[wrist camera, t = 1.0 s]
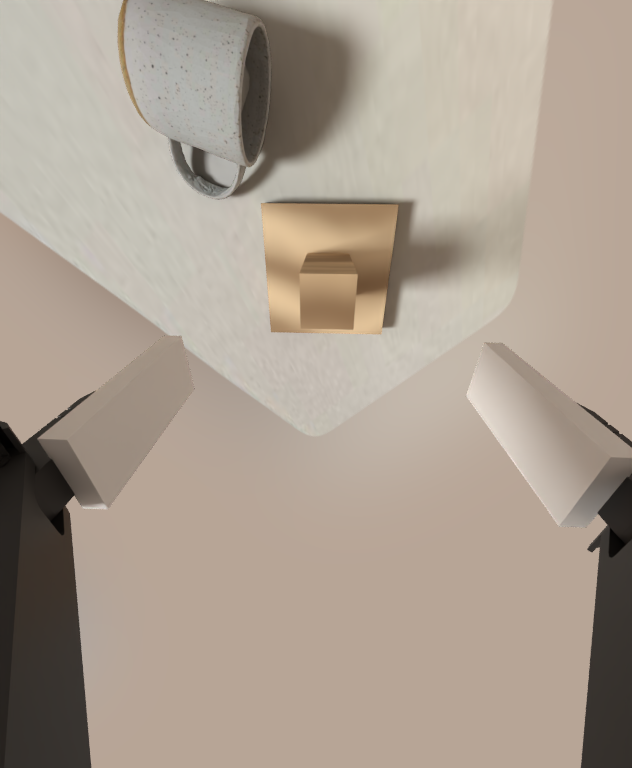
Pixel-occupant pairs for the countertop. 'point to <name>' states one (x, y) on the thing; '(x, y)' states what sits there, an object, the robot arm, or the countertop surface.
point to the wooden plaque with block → (328, 266)
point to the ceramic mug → (198, 80)
